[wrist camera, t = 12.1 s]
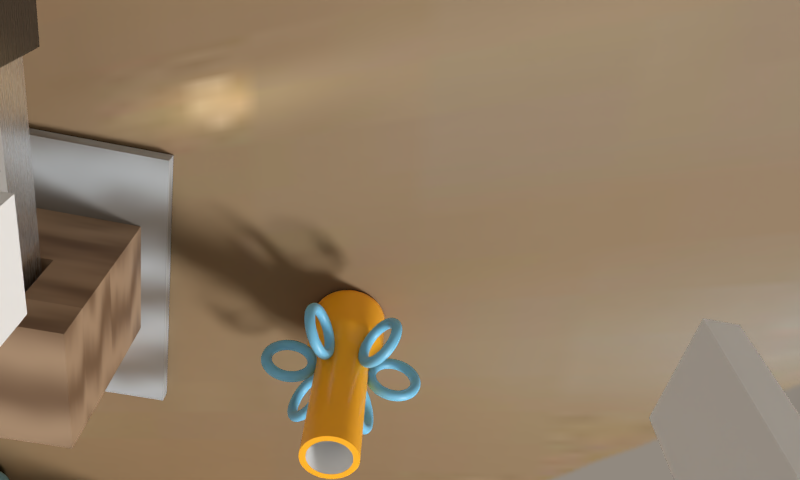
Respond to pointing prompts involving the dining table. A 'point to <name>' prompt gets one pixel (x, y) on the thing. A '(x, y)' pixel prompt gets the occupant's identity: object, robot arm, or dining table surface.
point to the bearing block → (90, 288)
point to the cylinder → (340, 378)
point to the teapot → (3, 476)
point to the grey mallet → (18, 127)
